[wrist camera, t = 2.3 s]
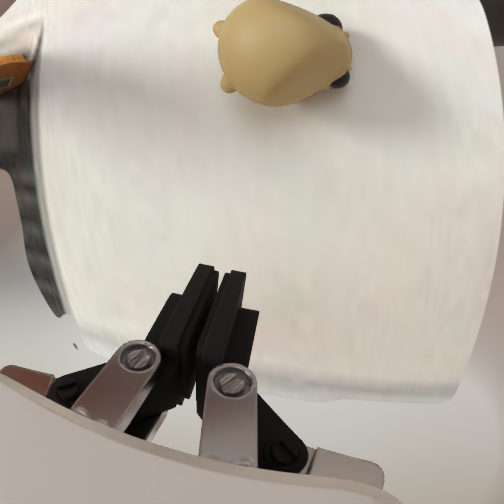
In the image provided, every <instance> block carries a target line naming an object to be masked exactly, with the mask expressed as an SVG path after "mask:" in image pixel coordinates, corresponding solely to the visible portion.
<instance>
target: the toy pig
mask: <svg viewBox="0 0 504 504" xmlns="http://www.w3.org/2000/svg"><path fill="white" fill-rule="evenodd" d="M213 31H214V33H215V35H216V36H217V37H218V38H219V40H218V55H219V60H220V64H221V67H222V70H223V72H224V75H223V77H222V80H221V88H222V90H223V91H224V92H226V93H233V92H235V91H238V92H239V93H240V94H242V95H243V96H245V97H246V98H248V99H250V100H252V101H254V102H256V103H259V104H262V105H266V106H271V107H278V106H285V105H289V104H293V103H296V102H299V101H301V100H303V99H306V98H308V97H310V96H311V95H313V94H315V93H316V92H318V91H320V90H321V89H324V90H329V89H332V88H342V87H344V86H345V85H347V83H348V82H349V78H350V74H349V71H350V70H351V66H350V64H351V59H352V49H351V45H350V42H349V40H348V38H349V36H350V35H349V33H347V32H344V31H343V30H342V24H341V22H340V20H339V19H338V18H337V17H336V16H334V15H332V14H320V15H318V16H317V15H315V14H313V13H311V12H309V11H307V10H304V9H302V8H300V7H297V6H294V5H292V4H289V3H286V2H283V1H280V0H246V1H245V2H243V3H242V4H240V5H239V6H237V7H236V8H235V9H234V10H233V11H232V12H231V13H230V14H229V16H228V17H227V18H226V20H225V21H223V20H221V21H218V22H216V23H215V24H214V26H213Z"/></svg>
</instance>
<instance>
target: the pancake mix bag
mask: <svg viewBox="0 0 504 504" xmlns="http://www.w3.org/2000/svg"><path fill="white" fill-rule="evenodd" d="M33 61H34V60H32V61H27V60H26V59H25V57H24V55H11V56H2V57H0V94H2V93H4V92H6V91H8V90H10V89H12V88H14V87H16V86H18V85H20V84H22V83H23V81H24V80H25V78H26V77H27V75H28V73H29V71H30V68H31V66H32V63H33Z"/></svg>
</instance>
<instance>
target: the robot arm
mask: <svg viewBox="0 0 504 504" xmlns="http://www.w3.org/2000/svg"><path fill="white" fill-rule="evenodd" d="M218 278H219V271H215V270H214V266H209V265H204V264H199V265H198V266H197V268H196V270H195V272H194V274H193V276H192V278H191V279H190V281H189V283H188V285H187V287H186V289H185V291H184V292H183V294H182V295H180V294H176V293H172V294H171V295H170V296H169V298H168V300H167V301H166V303H165V305H164V307H163V308H162V310H161V312H160V314H159V316H158V317H157V319H156V321H155V323H154V324H153V326H152V328H151V330H150V332H149V333H148V335H147V337H146V339H145V341H144V340H133V341H129V342H127V343H125V344H123V345H122V346H121V347H120V348H119V349H118V350H117V351H116V352H115V353H114V355H113V356H112V357H111V358H110V360H109V361H108V362H107V363H104V364H101V365H97V366H94V367H91V368H87V369H85V370H81V371H78V372H74V373H71V374H67V375H64V376H62V377H59V378H55V376H54V375H52V374H47V373H43V372H39V371H34V370H30V369H26V368H22V367H18V366H15V365H9V366H6V367H4V368H2V369H1V370H0V504H402V503H401V502H400V501H399V500H398V499H397V498H396V497H394V496H393V495H391V494H389V493H388V492H386V491H384V490H382V489H383V485H384V473H383V471H382V469H381V468H380V467H379V466H378V465H377V464H375V463H373V462H371V461H366V460H362V459H358V458H354V457H350V456H347V455H343V454H339V453H336V452H332V451H329V450H325V449H321V448H317V449H313V448H310V447H307V446H306V445H305V444H304V443H303V441H302V440H301V439H300V438H299V437H298V436H297V435H296V434H295V433H294V432H293V431H292V430H291V429H290V428H289V427H288V426H287V425H286V424H285V423H284V422H283V420H282V419H281V418H280V417H279V416H278V415H277V414H276V413H275V412H274V411H273V410H272V409H271V407H270V406H269V405H268V404H267V403H266V402H265V401H264V400H263V399H262V398H261V396H260V395H259V394H258V393H257V380H256V377H255V375H254V374H253V372H252V371H251V370H249V369H248V365H249V360H250V355H251V351H252V346H253V341H254V336H255V331H256V326H257V321H258V316H259V311H256V310H250V309H245V308H241V307H242V300H243V293H244V287H245V280H246V273H245V272H240V271H234V270H232V271H231V273H225V275H224V277H223V280H222V282H221V285H220V287H219V290H218V292H217V289H218ZM195 382H196V401H197V414H198V415H199V416H200V418H201V419H202V428H201V437H200V446H199V456H196V455H192V454H188V453H184V452H181V451H177V450H173V449H170V448H167V447H163V446H160V445H157V444H154V443H151V441H152V440H153V438H154V436H155V434H156V433H157V431H158V429H159V427H160V426H161V424H162V422H163V420H164V419H165V417H166V415H167V412H168V410H170V409H172V408H174V407H176V405H177V404H178V405H182V404H183V401H184V398H187V399H189V398H190V397H191V394H192V391H193V388H194V385H195Z"/></svg>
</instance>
